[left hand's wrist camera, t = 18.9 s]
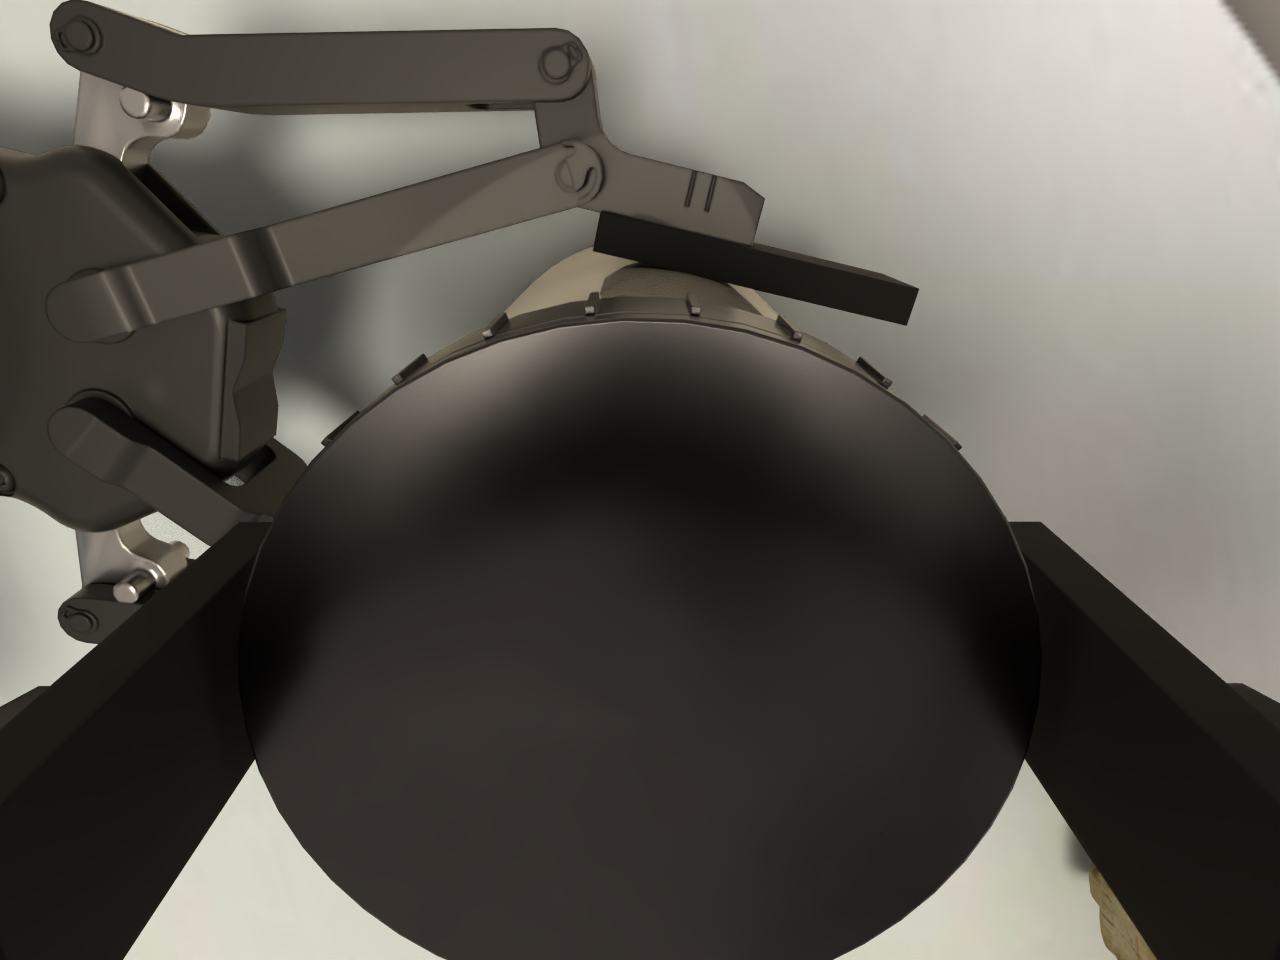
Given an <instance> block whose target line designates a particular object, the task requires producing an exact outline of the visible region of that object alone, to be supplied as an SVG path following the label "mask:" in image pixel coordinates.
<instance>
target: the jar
mask: <svg viewBox="0 0 1280 960" xmlns="http://www.w3.org/2000/svg"><path fill="white" fill-rule="evenodd" d="M593 247H594V246H593ZM593 247H590V248H587V249H585V250H582V251H580V252H578V253H575V254H573V255H571V256H569V257H567V258H565V259H564V260H562V261H560V262H559V263H557V264H555V265H554V266H552V267H551V268H550V269H548V270H547V271H546V272H545V273H543V274H542V275H541V276H540V277H538V278H537V279H536V280H535V281H534V282H533V283H532V284H531V285H530V286H529V287H528V288H527V289H526V290H525V291H524V292H523V293H522V294H521V295H520V296H519V297H518V298H517V299H516V300H515V301H514V302H513V303H512V304H511V305H510V306H509V307H508V308H507V309H506V310H505V311H504V312H503V313H506V314H507V316H508V319H510V318H512V317H515V316H517V315H520V314H523V313H527V312H531V311H536V310H540V309H544V308H548V307H552V306H556V305H560V304H564V303H569V302H574V301H583V300H588V297H589V295H590V293H591V292H599V297H600V299H602V298H612V297H622V296H636V297H670V298H683V299H685V298H686V293H687V292H689V293H695V295H696V297H697V299H698V301H701V302H707V303H713V304H719V305H725V306H731V307H734V308H737V309H741V310H744V311H747V312H750V313H754V314H757V315H760V316H764V317H767V318H770V319H773V320H777V317H778V314H777V313H776V312H775V311H774V310H773V309H772V308H771V307H770V306H769V305H768V304H767V303H766V302H765V301H764V300H763V298H762V297H761V296H760V295H759V294H758V293H757V292H756V291H755V290H754V289H750V288H746V287H741V286H737V285H733V284H729V283H725V282H720V281H716V280H712V279H708V278H703V277H699V276H695V275H691V274H687V273H682V272H678V271H674V270H670V269H666V268H661V267H657V266H653V265H649V264H644V263H640V262H636V261H632V260H628V259H623V258H619V257H615V256H611V255H606V254H602V253H598V252H594V251H593Z"/></svg>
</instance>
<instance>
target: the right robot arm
mask: <svg viewBox="0 0 1280 960" xmlns="http://www.w3.org/2000/svg"><path fill="white" fill-rule="evenodd" d="M50 32H51V39H52V42H53V44H54V46H55V48H56V50H57V53H58V54H59V55H60V56H61V57H62V58H63V59H64V60H65V62H66V63H67V64H69V65H71V66H72V67H74V68H76V69H78V70H79V71H80V81H79V91H78V101H77V111H76V121H75V131H74V141H73V145H71V146H64V147H59V148H56V149H53V150H51V151H48V152H45V153H42V154H37V155H33V154H29V153H25V152H20V151H16V150H12V149H7V148H3V147H0V496H7V497H12V498H16V499H19V500H22V501H24V502H27V503H29V504H31V505H33V506H35V507H36V508H38V509H40V510H41V511H43V512H45V513H46V514H48V515H49V516H50V517H52V518H53V519H55V520H56V521H58V522H59V523H61V524H63V525H65V526H67V527H69V528H72V529H75V531H76V539H77V547H78V555H79V563H80V571H81V579H82V589H81V590H80V591H78V592H77V593H75V594H74V595H73V596H71V597H70V598H69V599H67V600H66V601H65V602H63V604H62V605H61V606H60V608H59V609H58V620H59V623H60V626H61V627H62V629H63V630H64V631H65V632H66V633H67V634H68V635H69V636H71V637H72V638H74V639H76V640H78V641H82V642H86V643H93V644H99V643H100V642H102V641H103V640H104V639H105V638H106V637H107V636H108V635H110V634H111V633H112V632H113V631H114V630H115V629H117V628H118V627H119V626H120V625H121V624H122V623H123V622H125V621H126V620H127V619H128V618H129V617H130V616H131V615H133V614H134V613H135V612H136V611H137V610H138V609H140V608H141V607H142V606H143V605H144V604H145V603H146V602H148V601H149V600H150V599H151V598H152V597H153V596H155V595H156V594H157V593H158V592H159V591H160V590H161V589H163V588H164V587H165V586H166V585H167V584H168V583H170V582H171V581H172V580H173V579H174V578H175V577H176V576H178V575H179V574H180V573H181V572H182V571H183V570H184V569H186V568H187V567H188V566H189V565H190V564H191V563H193V562H194V561H195V559H189V554H190V552H189V548H188V547H187V546H186V545H185V544H184V543H182V542H180V541H172V542H169V543H166V542H163V541H160V540H158V539H156V538H154V537H153V536H151V535H150V534H149V533H148V532H147V531H146V530H145V529H144V527H143V525H142V523H141V520H140V519H141V518H143V517H146V516H148V515H150V514H153V513H155V512H157V511H158V512H160V513H161V514H163V515H164V516H166V517H167V518H169V519H170V520H172V521H173V522H175V523H176V524H177V525H179V526H180V527H182V528H183V529H185V530H186V531H188V532H189V533H191V534H192V535H194V536H195V537H197V538H198V539H200V540H201V541H203V542H204V543H206V544H207V545H209V546H212V545H213V544H214V543H216V542H217V541H218V540H219V539H220V538H221V537H223V536H224V535H225V534H226V533H227V532H228V531H229V530H231V529H232V528H233V527H234V526H235V525H236V524H238V523H239V522H272V521H273V517H274V515H275V513H276V511H277V510H278V509H279V507H280V505H281V503H282V502H283V500H284V499H285V497H286V496H287V495H288V493H289V492H290V490H291V489H292V488H293V486H294V485H295V483H296V482H297V481H298V479H299V478H300V476H301V475H302V474H303V472H304V471H305V469H306V468H307V465H306V463H305V462H304V461H303V460H302V459H301V458H300V457H299V456H298V455H296V454H295V453H293V452H292V451H291V450H289V449H288V448H287V447H285V446H284V445H282V444H281V443H280V442H278V441H277V440H276V439H274V438H273V437H274V436H275V435H276V428H277V416H278V401H277V396H276V390H275V385H274V380H273V375H272V371H273V368H274V365H275V362H276V360H277V357H278V354H279V352H280V349H281V347H282V344H283V341H284V330H285V317H286V309H283V308H278V307H277V306H276V302H275V299H274V296H273V293H272V292H274V291H277V290H280V289H284V288H287V287H291V286H294V285H298V284H302V283H305V282H309V281H312V280H316V279H320V278H323V277H327V276H330V275H334V274H338V273H341V272H345V271H348V270H352V269H356V268H359V267H363V266H366V265H370V264H374V263H377V262H381V261H384V260H388V259H391V258H395V257H399V256H402V255H406V254H409V253H413V252H417V251H420V250H424V249H427V248H431V247H435V246H438V245H442V244H445V243H449V242H453V241H456V240H460V239H463V238H467V237H471V236H474V235H478V234H481V233H485V232H489V231H492V230H496V229H499V228H503V227H507V226H510V225H514V224H517V223H521V222H525V221H528V220H532V219H535V218H539V217H543V216H546V215H550V214H553V213H557V212H561V211H564V210H568V209H571V208H575V207H579V208H583V209H587V210H592V211H596V212H600V218H599V223H598V228H597V232H596V237H595V242H594V247H593V251H594V252H598V253H602V254H606V255H611V256H615V257H619V258H623V259H628V260H632V261H636V262H640V263H644V264H649V265H653V266H657V267H661V268H666V269H670V270H674V271H678V272H682V273H687V274H691V275H695V276H699V277H703V278H708V279H712V280H716V281H720V282H725V283H729V284H733V285H737V286H741V287H746V288H750V289H754V290H758V291H763V292H767V293H771V294H775V295H779V296H784V297H788V298H792V299H796V300H800V301H805V302H809V303H813V304H817V305H822V306H826V307H830V308H834V309H838V310H843V311H847V312H851V313H855V314H860V315H864V316H868V317H872V318H876V319H881V320H885V321H889V322H893V323H897V324H902V325H906V326H907V323H908V320H909V317H910V314H911V311H912V308H913V305H914V303H915V300H916V297H917V294H918V291H919V289H918V288H916V287H913V286H911V285H908V284H906V283H903V282H901V281H899V280H896V279H894V278H891V277H889V276H886V275H884V274H881V273H877V272H873V271H869V270H865V269H861V268H856V267H852V266H848V265H844V264H840V263H836V262H832V261H827V260H823V259H819V258H815V257H811V256H807V255H803V254H799V253H794V252H790V251H786V250H782V249H778V248H774V247H770V246H765V245H761V244H757V243H753V241H754V237H755V234H756V230H757V226H758V222H759V219H760V215H761V211H762V208H763V204H764V200H765V198H763V197H762V196H761V195H759V194H758V193H757V192H756V191H754V190H753V189H752V188H750V187H749V186H748V185H746V184H745V183H744V182H740V181H736V180H732V179H728V178H724V177H720V176H716V175H712V174H708V173H704V172H700V171H696V170H692V169H688V168H684V167H680V166H675V165H671V164H667V163H663V162H659V161H655V160H651V159H647V158H643V157H639V156H635V155H631V154H628V153H625V152H623V151H620V150H619V149H618V148H616V147H615V146H613V145H612V144H611V142H610V141H609V140H608V139H607V137H606V135H605V133H604V131H603V127H602V123H601V117H600V109H599V101H598V94H597V86H596V75H595V70H594V66H593V63H592V61H591V59H590V56H589V54H588V52H587V50H586V48H585V47H584V45H583V43H582V42H581V40H580V39H579V38H578V37H577V36H575V35H574V34H572V33H571V32H570V31H568V30H563V29H558V28H530V29H476V30H423V31H369V32H316V33H263V34H209V35H189V34H186V33H183V32H181V31H178V30H175V29H173V28H170V27H167V26H164V25H162V24H159V23H155V22H152V21H149V20H146V19H143V18H139V17H136V16H133V15H130V14H127V13H124V12H120V11H117V10H114V9H111V8H108V7H104V6H101V5H98V4H95V3H92V2H88V1H83V0H69V1H66V2H63V3H61V4H60V5H59V6H58V7H57V8H56V10H55V11H54V12H53V15H52V18H51V22H50ZM210 108H214V109H221V110H228V111H234V112H241V113H247V114H260V115H306V114H361V113H416V112H471V111H527V110H534V111H535V117H536V124H537V130H538V137H539V143H540V148H539V149H535V150H532V151H528V152H525V153H521V154H518V155H514V156H511V157H507V158H504V159H500V160H497V161H493V162H490V163H486V164H483V165H479V166H476V167H472V168H469V169H465V170H462V171H458V172H455V173H451V174H448V175H444V176H441V177H437V178H434V179H430V180H427V181H423V182H420V183H416V184H413V185H409V186H406V187H402V188H399V189H395V190H392V191H388V192H385V193H381V194H378V195H374V196H371V197H367V198H364V199H360V200H357V201H353V202H350V203H346V204H343V205H339V206H336V207H332V208H329V209H325V210H322V211H318V212H315V213H311V214H308V215H304V216H301V217H297V218H294V219H290V220H287V221H283V222H280V223H276V224H273V225H269V226H266V227H262V228H257V229H253V230H249V231H244V232H240V233H236V234H232V235H229V236H225V237H224V236H223V235H222V234H221V233H220V232H219V231H218V230H217V229H216V228H215V227H214V226H213V225H212V224H211V223H210V222H209V221H208V220H207V219H206V218H205V217H204V216H203V215H202V214H201V213H200V212H199V211H198V210H197V209H196V208H195V207H194V206H193V205H192V204H191V203H190V202H189V201H188V200H187V199H186V198H185V197H184V196H183V195H182V194H181V193H180V192H179V191H178V190H177V189H176V188H175V187H174V186H173V185H172V184H171V183H170V182H169V181H168V180H167V179H166V178H165V177H164V176H163V175H162V174H161V173H160V172H159V171H158V170H157V169H156V168H155V167H154V166H153V165H151V164H150V163H149V162H148V160H149V157H150V153H151V151H152V150H153V148H154V147H155V145H157V144H158V143H159V142H161V141H162V140H166V139H170V138H172V139H191V138H195V137H197V136H198V135H200V134H201V133H202V132H203V131H204V129H205V128H206V126H207V123H208V121H209V119H210V116H211V112H210ZM234 475H235V476H236V477H238V478H239V479H240V480H242V481H243V482H245V484H243V485H241V486H238V487H237V486H232V485H229V484H227V483H225V481H227V480H229V479H230V478H231V477H233V476H234Z"/></svg>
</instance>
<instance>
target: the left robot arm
mask: <svg viewBox="0 0 1280 960" xmlns="http://www.w3.org/2000/svg"><path fill="white" fill-rule="evenodd" d="M271 523H272V522H239V523H238V524H236V525H235V526H234V527H233V528H232V529H231V530H229V531H228V532H227V533H226V534H225V535H224V536H223V537H221V538H220V539H219V540H218V541H217V542H216V543H214V544H213V545H212V546H211V547H210V548H209V549H208V550H206V551H205V552H204V553H203V554H202V555H201V556H199V557H198V558H197V559H196V560H195V561H194V562H193V563H191V564H190V565H189V566H188V567H187V568H186V569H184V570H183V571H182V572H181V573H180V574H179V575H178V576H176V577H175V578H174V579H173V580H172V581H171V582H170V583H168V584H167V585H166V586H165V587H164V588H163V589H161V590H160V591H159V592H158V593H157V594H156V595H155V596H153V597H152V598H151V599H150V600H149V601H148V602H146V603H145V604H144V605H143V606H142V607H141V608H140V609H138V610H137V611H136V612H135V613H134V614H133V615H131V616H130V617H129V618H128V619H127V620H126V621H125V622H123V623H122V624H121V625H120V626H119V627H118V628H117V629H115V630H114V631H113V632H112V633H111V634H110V635H108V636H107V637H106V638H105V639H104V640H103V641H102V642H100V643H99V644H98V645H97V646H96V647H95V648H93V649H92V650H91V651H90V652H89V653H88V654H87V655H85V656H84V657H83V658H82V659H81V660H80V661H78V662H77V663H76V664H75V665H74V666H73V667H72V668H70V669H69V670H68V671H67V672H66V673H65V674H63V675H62V676H61V677H60V678H59V679H58V680H57V681H55V682H54V683H53V684H52V685H51V686H38V687H36V688H34V689H33V690H31V691H29V692H27V693H25V694H23V695H21V696H20V697H18V698H16V699H14V700H12V701H10V702H8V703H7V704H5V705H3V706H1V707H0V960H123V959H124V957H125V956H126V954H127V953H128V951H129V950H130V948H131V947H132V945H133V944H134V942H135V941H136V939H137V938H138V936H139V935H140V933H141V932H142V930H143V929H144V927H145V925H146V924H147V922H148V921H149V919H150V918H151V916H152V915H153V913H154V912H155V910H156V909H157V907H158V906H159V904H160V903H161V901H162V900H163V898H164V897H165V895H166V894H167V892H168V891H169V889H170V888H171V886H172V884H173V883H174V881H175V880H176V878H177V877H178V875H179V874H180V872H181V871H182V869H183V868H184V866H185V865H186V863H187V862H188V860H189V859H190V857H191V856H192V854H193V853H194V851H195V850H196V848H197V846H198V845H199V843H200V842H201V840H202V839H203V837H204V836H205V834H206V833H207V831H208V830H209V828H210V827H211V825H212V824H213V822H214V821H215V819H216V818H217V816H218V815H219V813H220V812H221V810H222V809H223V807H224V805H225V804H226V802H227V801H228V799H229V798H230V796H231V795H232V793H233V792H234V790H235V789H236V787H237V786H238V784H239V783H240V781H241V780H242V778H243V777H244V775H245V774H246V772H247V771H248V769H249V767H250V766H251V764H252V763H253V761H254V760H255V757H254V754H253V751H252V748H251V745H250V741H249V738H248V735H247V732H246V729H245V722H244V716H243V710H242V704H241V698H240V692H239V686H238V636H239V629H240V623H241V616H242V609H243V603H244V596H245V591H246V588H247V585H248V582H249V579H250V575H251V572H252V569H253V566H254V563H255V560H256V556H257V553H258V550H259V547H260V545H261V543H262V541H263V539H264V537H265V535H266V533H267V531H268V529H269V527H270V525H271ZM1009 525H1010V527H1011V530H1012V532H1013V534H1014V537H1015V539H1016V541H1017V544H1018V546H1019V549H1020V551H1021V553H1022V556H1023V558H1024V561H1025V563H1026V565H1027V568H1028V572H1029V577H1030V581H1031V585H1032V589H1033V593H1034V597H1035V601H1036V606H1037V610H1038V615H1039V628H1040V641H1041V653H1042V667H1041V680H1040V693H1039V705H1038V710H1037V714H1036V718H1035V723H1034V727H1033V731H1032V735H1031V740H1030V744H1029V748H1028V751H1027V753H1026V756H1025V760H1026V761H1027V763H1028V764H1029V766H1030V768H1031V769H1032V771H1033V772H1034V774H1035V775H1036V777H1037V778H1038V780H1039V781H1040V783H1041V784H1042V786H1043V787H1044V789H1045V790H1046V792H1047V793H1048V795H1049V796H1050V798H1051V799H1052V801H1053V802H1054V804H1055V805H1056V807H1057V809H1058V810H1059V812H1060V813H1061V815H1062V816H1063V818H1064V819H1065V821H1066V822H1067V824H1068V825H1069V827H1070V828H1071V830H1072V831H1073V833H1074V834H1075V836H1076V837H1077V839H1078V840H1079V842H1080V843H1081V845H1082V847H1083V848H1084V850H1085V851H1086V853H1087V854H1088V856H1089V857H1090V859H1091V860H1092V862H1093V863H1094V865H1095V866H1096V868H1097V869H1098V871H1099V872H1100V874H1101V875H1102V877H1103V878H1104V880H1105V881H1106V883H1107V884H1108V886H1109V888H1110V889H1111V891H1112V892H1113V894H1114V895H1115V897H1116V898H1117V900H1118V901H1119V903H1120V904H1121V906H1122V907H1123V909H1124V910H1125V912H1126V913H1127V915H1128V916H1129V918H1130V919H1131V921H1132V922H1133V924H1134V926H1135V927H1136V929H1137V930H1138V932H1139V933H1140V935H1141V936H1142V938H1143V939H1144V941H1145V942H1146V944H1147V945H1148V947H1149V948H1150V950H1151V951H1152V953H1153V954H1154V956H1155V957H1156V959H1157V960H1280V703H1278V702H1276V701H1274V700H1272V699H1271V698H1269V697H1267V696H1265V695H1263V694H1261V693H1259V692H1257V691H1256V690H1254V689H1252V688H1250V687H1248V686H1246V685H1244V684H1242V683H1226V682H1225V681H1223V680H1222V679H1221V678H1220V677H1219V676H1218V675H1216V674H1215V673H1214V672H1213V671H1212V670H1211V669H1210V668H1208V667H1207V666H1206V665H1205V664H1204V663H1203V662H1202V661H1200V660H1199V659H1198V658H1197V657H1196V656H1195V655H1193V654H1192V653H1191V652H1190V651H1189V650H1188V649H1187V648H1185V647H1184V646H1183V645H1182V644H1181V643H1180V642H1178V641H1177V640H1176V639H1175V638H1174V637H1173V636H1172V635H1170V634H1169V633H1168V632H1167V631H1166V630H1165V629H1163V628H1162V627H1161V626H1160V625H1159V624H1158V623H1157V622H1155V621H1154V620H1153V619H1152V618H1151V617H1150V616H1148V615H1147V614H1146V613H1145V612H1144V611H1143V610H1142V609H1140V608H1139V607H1138V606H1137V605H1136V604H1135V603H1134V602H1132V601H1131V600H1130V599H1129V598H1128V597H1127V596H1125V595H1124V594H1123V593H1122V592H1121V591H1120V590H1119V589H1117V588H1116V587H1115V586H1114V585H1113V584H1112V583H1110V582H1109V581H1108V580H1107V579H1106V578H1105V577H1104V576H1102V575H1101V574H1100V573H1099V572H1098V571H1097V570H1095V569H1094V568H1093V567H1092V566H1091V565H1090V564H1089V563H1087V562H1086V561H1085V560H1084V559H1083V558H1082V557H1081V556H1079V555H1078V554H1077V553H1076V552H1075V551H1074V550H1072V549H1071V548H1070V547H1069V546H1068V545H1067V544H1066V543H1064V542H1063V541H1062V540H1061V539H1060V538H1059V537H1057V536H1056V535H1055V534H1054V533H1053V532H1052V531H1051V530H1049V529H1048V528H1047V527H1046V526H1045V525H1044V524H1042V523H1041V522H1009Z"/></svg>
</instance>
